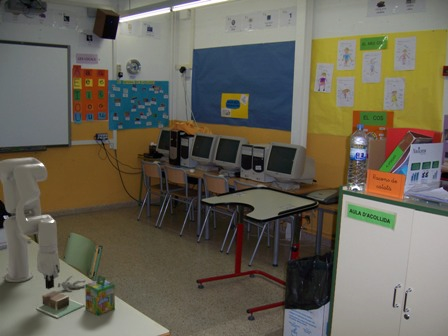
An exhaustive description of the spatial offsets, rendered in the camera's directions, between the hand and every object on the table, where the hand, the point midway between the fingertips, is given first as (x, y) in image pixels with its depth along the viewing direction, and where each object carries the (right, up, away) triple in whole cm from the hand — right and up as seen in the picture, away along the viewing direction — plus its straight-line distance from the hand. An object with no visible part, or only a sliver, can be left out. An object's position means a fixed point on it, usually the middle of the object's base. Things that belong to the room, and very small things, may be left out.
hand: (49, 287), depth 207 cm
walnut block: (-1, -5, +1) cm, 5 cm away
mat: (+5, -8, -2) cm, 10 cm away
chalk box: (+23, -9, -3) cm, 25 cm away
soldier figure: (+4, -5, +17) cm, 18 cm away
